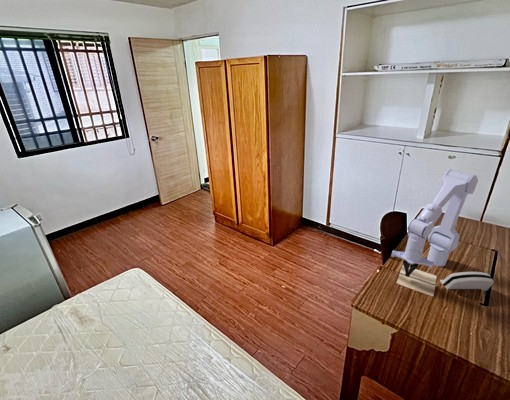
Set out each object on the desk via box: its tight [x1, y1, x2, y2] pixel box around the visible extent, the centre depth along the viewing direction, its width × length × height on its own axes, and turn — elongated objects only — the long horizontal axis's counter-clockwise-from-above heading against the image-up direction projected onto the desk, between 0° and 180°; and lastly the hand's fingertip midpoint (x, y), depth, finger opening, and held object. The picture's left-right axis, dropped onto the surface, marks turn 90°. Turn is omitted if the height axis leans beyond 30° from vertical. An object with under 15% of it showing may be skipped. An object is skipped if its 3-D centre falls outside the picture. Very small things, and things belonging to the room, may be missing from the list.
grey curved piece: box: [439, 271, 495, 291], centre depth 108 cm, size 17×5×10 cm, turn 89°
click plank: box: [396, 273, 436, 297], centre depth 110 cm, size 7×13×1 cm, turn 55°
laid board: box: [399, 264, 437, 286], centre depth 116 cm, size 7×13×1 cm, turn 55°
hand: (407, 275), depth 112 cm, fingers closed
